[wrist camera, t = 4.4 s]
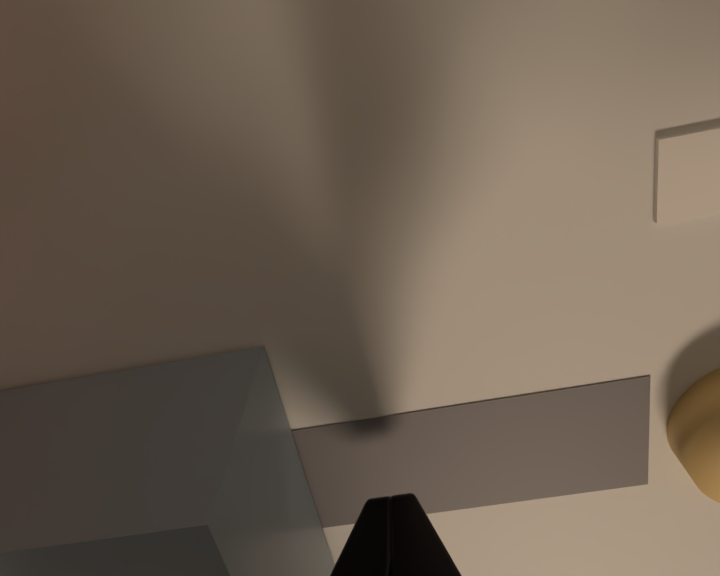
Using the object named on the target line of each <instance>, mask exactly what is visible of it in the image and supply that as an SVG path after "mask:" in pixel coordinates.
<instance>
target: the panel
mask: <svg viewBox="0 0 720 576" xmlns="http://www.w3.org/2000/svg"><path fill="white" fill-rule="evenodd" d="M263 346H264V349H265V352H266V355H267V358H268V361H269V364H270V367H271V370H272V374H273V377H274V380H275V383H276V386H277V389H278V392H279V395H280V398H281V402H282V405H283V408H284V411H285V414H286V417H287V420H288V423H289V426H290V430H291V433H292V436H293V439H294V442H295V445H296V448H297V451H298V454H299V457H300V461H301V464H302V467H303V470H304V473H305V476H306V479H307V482H308V485H309V489H310V492H311V495H312V498H313V501H314V504H315V507H316V510H317V513H318V517H319V520H320V523H321V526H322V529H323V532H324V535H325V538H326V541H327V544H328V548H329V551H330V554H331V557H332V560H333V563H334V566H335V564H336V562H337V560H338V558H339V556H340V554H341V552H342V550H343V548H344V546H345V543H346V541H347V539H348V537H349V535H350V533H351V531H352V529H353V527H354V525H355V523H356V521H357V519H358V517H359V514H360V512H361V510H362V508H363V506H364V504H365V502H366V501H367V500H368V499H370V498H377V497H385V496H389V497H391V496H393V495H399V494H406V493H413V494H414V495H415V496H416V497H417V499H418V501H419V502H420V504H421V506H422V508H423V509H424V511H425V513H426V515H427V516H428V518H429V520H430V522H431V523H432V525H433V527H434V528H435V530H436V532H437V534H438V535H439V537H440V539H441V541H442V542H443V544H444V546H445V548H446V549H447V551H448V553H449V554H450V556H451V558H452V560H453V561H454V563H455V565H456V567H457V568H458V570H459V572H460V574H461V575H462V576H720V0H0V391H3V390H8V389H14V388H20V387H26V386H32V385H38V384H44V383H50V382H56V381H62V380H68V379H74V378H80V377H85V376H91V375H97V374H103V373H109V372H115V371H121V370H127V369H133V368H139V367H145V366H151V365H157V364H162V363H168V362H174V361H180V360H186V359H192V358H198V357H204V356H210V355H216V354H222V353H228V352H233V351H239V350H245V349H251V348H257V347H263Z"/></svg>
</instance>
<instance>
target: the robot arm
mask: <svg viewBox="0 0 720 576" xmlns="http://www.w3.org/2000/svg"><path fill="white" fill-rule="evenodd" d="M330 576H462V575H461V574H460V572H459V570H458V568H457V567H456V565H455V563H454V561H453V560H452V558H451V556H450V554H449V553H448V551H447V549H446V548H445V546H444V544H443V542H442V541H441V539H440V537H439V535H438V534H437V532H436V530H435V528H434V527H433V525H432V523H431V522H430V520H429V518H428V516H427V515H426V513H425V511H424V509H423V508H422V506H421V504H420V502H419V501H418V499H417V497H416V496H415V495H414V494H413V493H406V494H399V495H393V496H391V497H389V496H385V497H377V498H370V499H368V500H367V501H366V502H365V504H364V506H363V508H362V510H361V512H360V514H359V517H358V519H357V521H356V523H355V525H354V527H353V529H352V531H351V533H350V535H349V537H348V539H347V541H346V543H345V546H344V548H343V550H342V552H341V554H340V556H339V558H338V560H337V562H336V564H335V566H334V568H333V570H332V572H331V575H330Z"/></svg>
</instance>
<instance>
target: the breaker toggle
mask: <svg viewBox="0 0 720 576" xmlns="http://www.w3.org/2000/svg"><path fill="white" fill-rule="evenodd" d="M333 568H334V563H333V560H332V557H331V554H330V551H329V548H328V544H327V541H326V538H325V535H324V532H323V529H322V526H321V523H320V520H319V517H318V513H317V510H316V507H315V504H314V501H313V498H312V495H311V492H310V489H309V485H308V482H307V479H306V476H305V473H304V470H303V467H302V464H301V461H300V457H299V454H298V451H297V448H296V445H295V442H294V439H293V436H292V433H291V430H290V426H289V423H288V420H287V417H286V414H285V411H284V408H283V405H282V402H281V398H280V395H279V392H278V389H277V386H276V383H275V380H274V377H273V374H272V370H271V367H270V364H269V361H268V358H267V355H266V352H265V349H264V346H263V347H257V348H251V349H245V350H239V351H233V352H228V353H222V354H216V355H210V356H204V357H198V358H192V359H186V360H180V361H174V362H168V363H162V364H157V365H151V366H145V367H139V368H133V369H127V370H121V371H115V372H109V373H103V374H97V375H91V376H85V377H80V378H74V379H68V380H62V381H56V382H50V383H44V384H38V385H32V386H26V387H20V388H14V389H8V390H3V391H0V576H330V575H331V572H332V570H333Z"/></svg>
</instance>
